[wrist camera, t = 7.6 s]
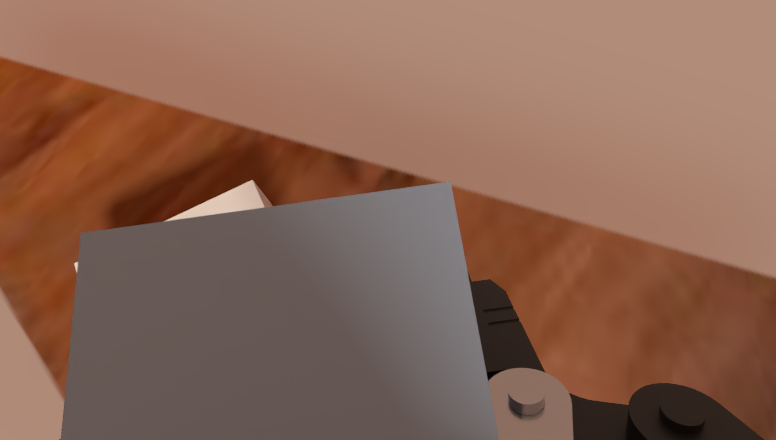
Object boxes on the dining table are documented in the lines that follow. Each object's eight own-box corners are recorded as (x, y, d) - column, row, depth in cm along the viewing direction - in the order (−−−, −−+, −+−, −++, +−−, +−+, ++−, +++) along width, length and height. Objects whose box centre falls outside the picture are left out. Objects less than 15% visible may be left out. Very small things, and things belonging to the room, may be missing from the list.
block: (429, 305, 16) (450, 181, 6) (456, 473, 14) (537, 644, 5) (280, 325, 16) (81, 233, 6) (288, 496, 14) (34, 709, 5)
